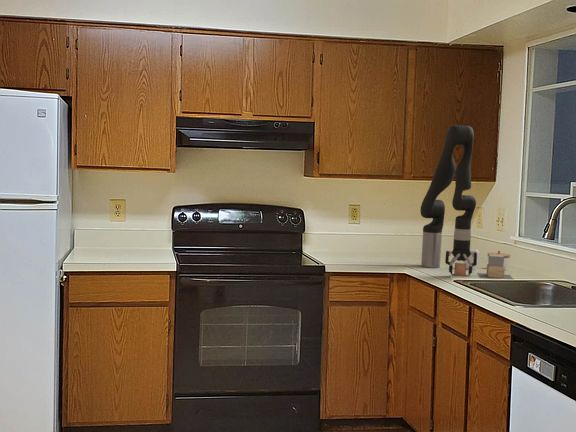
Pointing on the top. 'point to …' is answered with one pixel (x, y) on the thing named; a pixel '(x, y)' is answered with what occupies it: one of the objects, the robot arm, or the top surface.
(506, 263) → the lidded jar
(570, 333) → the top surface
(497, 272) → the maple block
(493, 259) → the grey block
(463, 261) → the white cup
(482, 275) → the charcoal mat
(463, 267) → the terracotta cylinder
